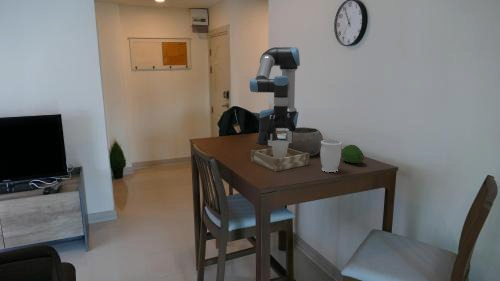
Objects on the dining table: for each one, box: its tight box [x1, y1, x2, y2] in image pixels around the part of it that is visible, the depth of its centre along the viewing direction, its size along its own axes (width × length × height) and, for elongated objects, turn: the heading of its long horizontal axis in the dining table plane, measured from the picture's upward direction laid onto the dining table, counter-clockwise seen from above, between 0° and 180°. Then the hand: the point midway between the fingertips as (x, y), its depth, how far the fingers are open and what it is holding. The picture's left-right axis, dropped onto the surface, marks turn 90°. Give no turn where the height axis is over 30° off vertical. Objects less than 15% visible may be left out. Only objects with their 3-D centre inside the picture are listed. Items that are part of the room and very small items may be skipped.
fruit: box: [341, 144, 365, 164], centre depth 190 cm, size 15×10×10 cm, turn 15°
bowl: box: [284, 127, 324, 158], centre depth 210 cm, size 23×23×15 cm
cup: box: [271, 139, 289, 158], centre depth 189 cm, size 10×10×11 cm
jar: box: [319, 139, 343, 173], centre depth 175 cm, size 11×10×15 cm
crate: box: [250, 147, 310, 172], centre depth 189 cm, size 23×23×6 cm
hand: (279, 144), depth 188 cm, fingers open, 13 cm apart
